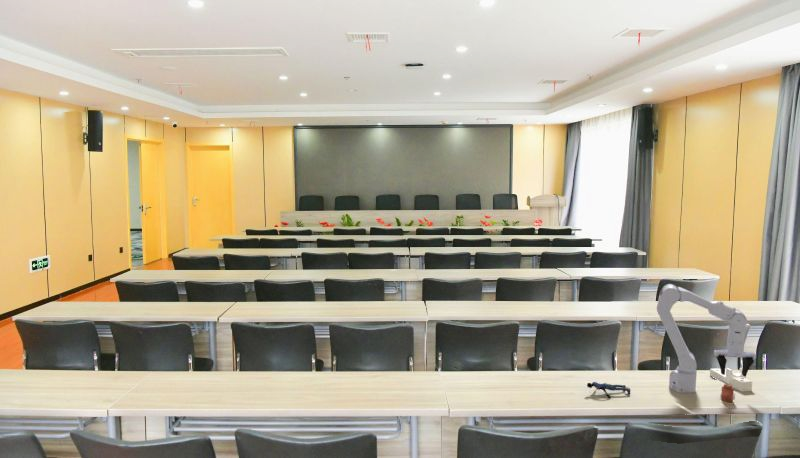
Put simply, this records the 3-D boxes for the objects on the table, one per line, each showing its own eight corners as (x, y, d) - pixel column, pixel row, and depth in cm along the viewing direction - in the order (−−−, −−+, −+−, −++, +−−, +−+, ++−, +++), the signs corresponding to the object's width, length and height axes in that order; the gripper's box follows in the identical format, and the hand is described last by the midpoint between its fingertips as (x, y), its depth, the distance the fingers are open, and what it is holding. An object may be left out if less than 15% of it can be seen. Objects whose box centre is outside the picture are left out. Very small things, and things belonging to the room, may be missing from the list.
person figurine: (621, 392, 231) (580, 387, 229) (622, 381, 231) (582, 376, 229) (634, 402, 221) (592, 397, 219) (636, 391, 220) (594, 386, 218)
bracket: (745, 387, 233) (746, 369, 232) (728, 387, 233) (730, 370, 232) (725, 376, 246) (726, 359, 245) (709, 376, 246) (710, 359, 245)
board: (735, 407, 212) (735, 404, 212) (717, 403, 215) (717, 401, 215) (737, 394, 225) (737, 392, 224) (720, 391, 228) (720, 388, 228)
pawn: (726, 403, 213) (727, 388, 213) (718, 399, 217) (719, 384, 217) (735, 402, 214) (736, 387, 214) (727, 398, 218) (728, 383, 218)
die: (741, 394, 225) (741, 382, 225) (731, 389, 230) (732, 377, 230) (751, 393, 226) (752, 381, 226) (741, 388, 231) (742, 376, 231)
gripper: (719, 342, 216) (717, 376, 218) (760, 345, 213) (757, 379, 215) (712, 337, 223) (710, 370, 224) (752, 340, 220) (750, 373, 222)
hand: (733, 374), depth 220 cm, fingers open, 7 cm apart
